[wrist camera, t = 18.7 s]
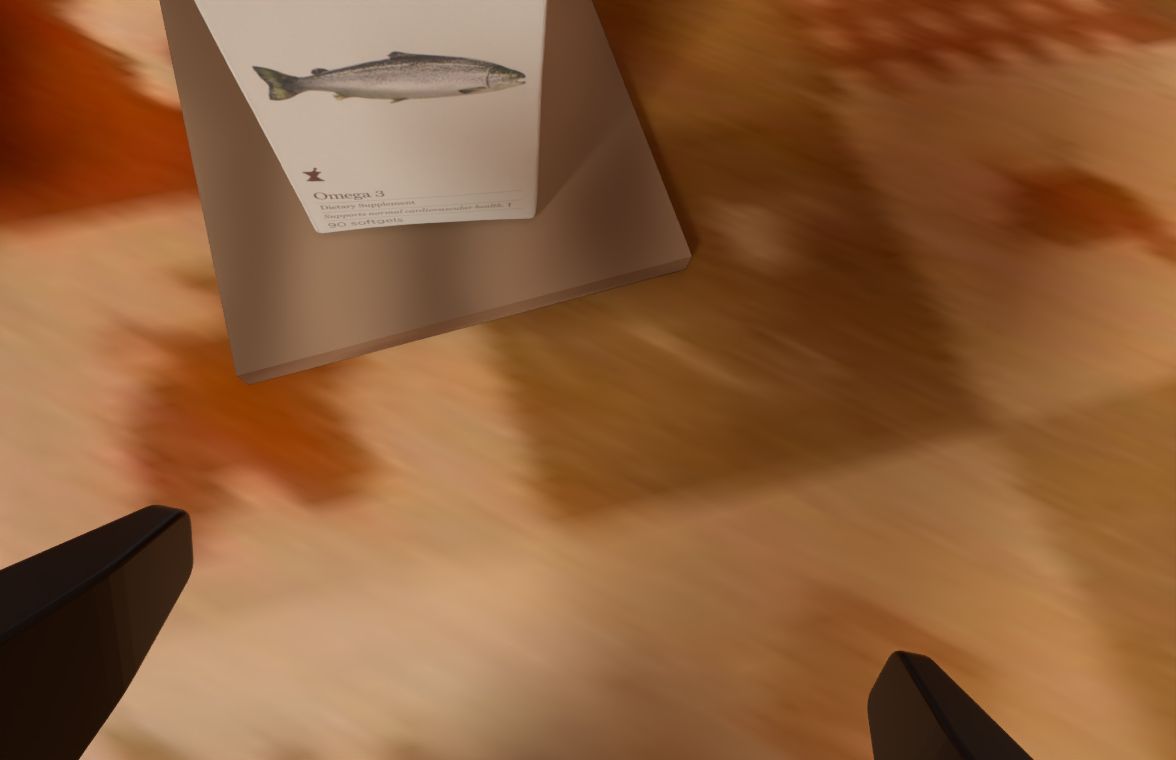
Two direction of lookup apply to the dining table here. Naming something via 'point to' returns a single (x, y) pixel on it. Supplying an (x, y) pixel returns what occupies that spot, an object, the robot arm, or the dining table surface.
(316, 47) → the supplement box
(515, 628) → the dining table surface
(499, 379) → the dining table surface
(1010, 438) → the dining table surface
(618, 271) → the walnut board
